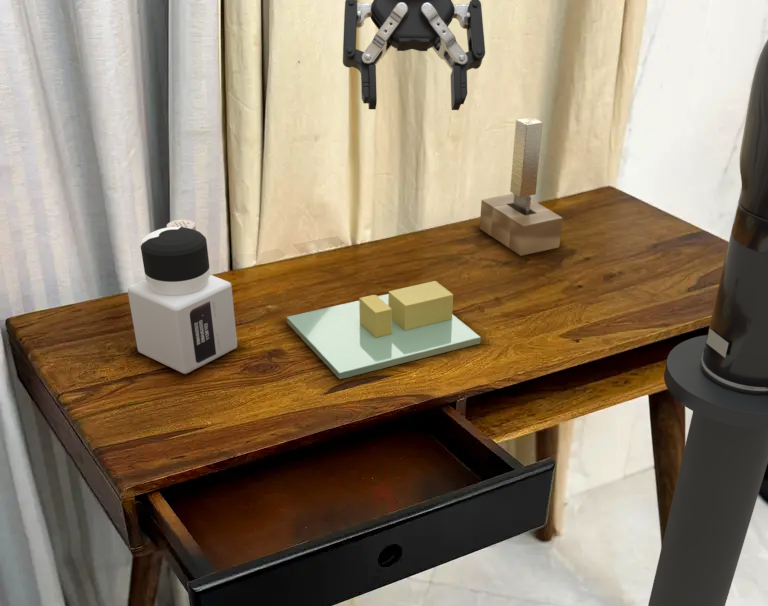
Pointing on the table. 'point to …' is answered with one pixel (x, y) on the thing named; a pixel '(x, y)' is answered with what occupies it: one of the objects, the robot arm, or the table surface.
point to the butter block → (420, 305)
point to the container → (181, 302)
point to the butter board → (374, 339)
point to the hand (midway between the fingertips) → (414, 106)
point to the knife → (525, 162)
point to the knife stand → (520, 225)
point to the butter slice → (375, 315)
